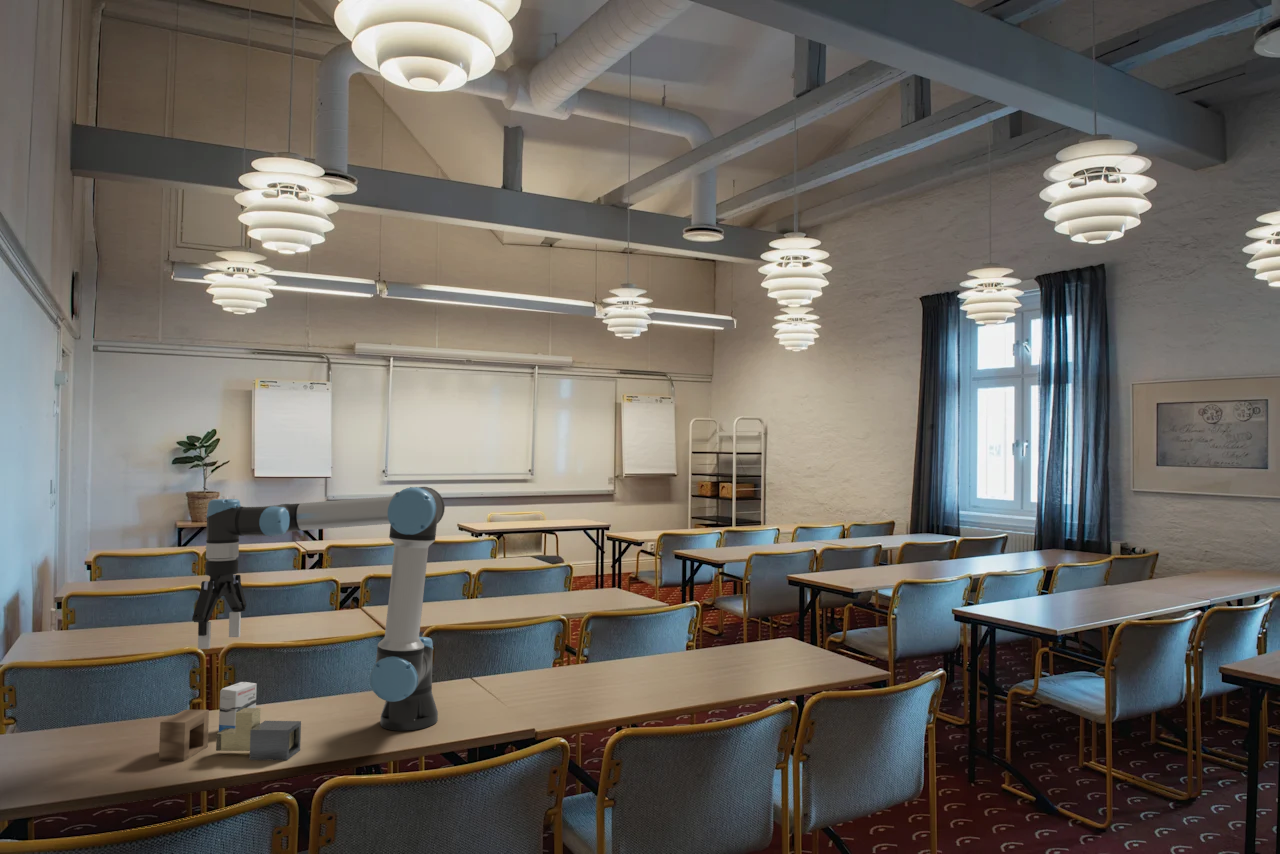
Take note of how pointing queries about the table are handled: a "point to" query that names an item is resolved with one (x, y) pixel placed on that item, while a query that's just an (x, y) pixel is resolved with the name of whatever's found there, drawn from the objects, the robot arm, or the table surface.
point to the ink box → (235, 702)
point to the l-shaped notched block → (242, 732)
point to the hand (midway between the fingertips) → (219, 642)
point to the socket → (183, 735)
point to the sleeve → (274, 740)
